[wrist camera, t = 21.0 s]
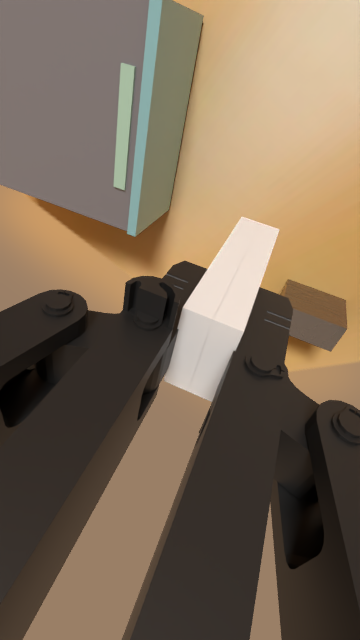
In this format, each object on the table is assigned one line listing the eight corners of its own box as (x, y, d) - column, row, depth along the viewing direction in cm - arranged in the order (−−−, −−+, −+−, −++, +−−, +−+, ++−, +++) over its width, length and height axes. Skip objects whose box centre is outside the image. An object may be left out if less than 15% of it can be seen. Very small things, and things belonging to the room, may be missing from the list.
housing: (192, 13, 24) (148, -8, 19) (161, 205, 34) (126, 232, 28) (14, -31, 27) (-74, -61, 21) (32, 160, 37) (-25, 176, 31)
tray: (203, 15, 24) (162, -4, 18) (169, 209, 34) (135, 236, 28) (23, -29, 27) (-63, -59, 21) (38, 164, 36) (-17, 180, 30)
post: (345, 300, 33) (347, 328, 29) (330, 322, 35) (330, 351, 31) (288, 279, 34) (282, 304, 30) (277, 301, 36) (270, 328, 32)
